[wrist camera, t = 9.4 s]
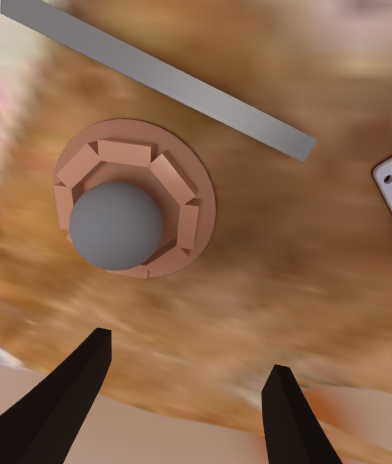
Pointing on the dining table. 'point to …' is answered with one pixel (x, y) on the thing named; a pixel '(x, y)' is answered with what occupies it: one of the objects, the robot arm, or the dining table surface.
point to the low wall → (158, 75)
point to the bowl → (142, 185)
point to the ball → (116, 226)
